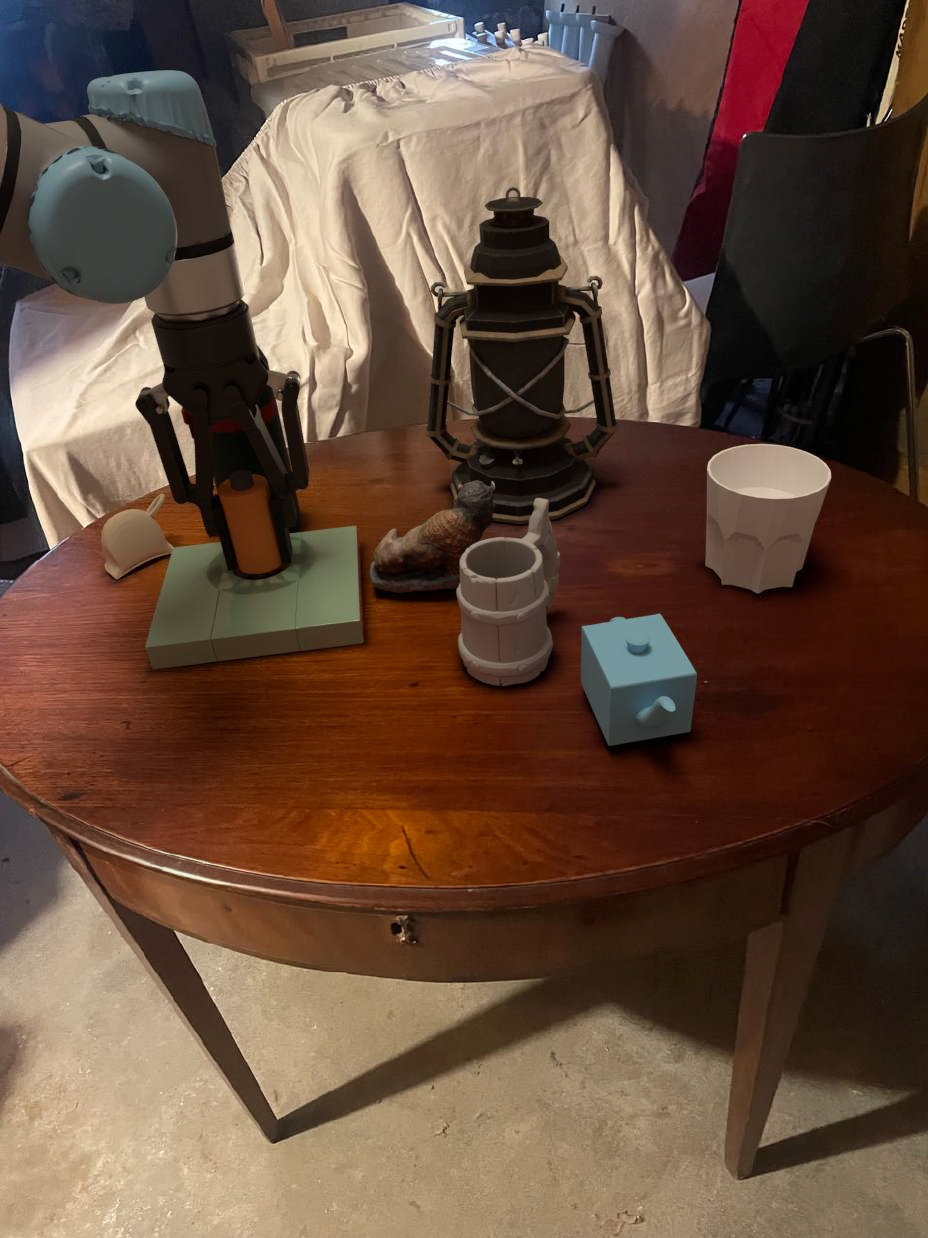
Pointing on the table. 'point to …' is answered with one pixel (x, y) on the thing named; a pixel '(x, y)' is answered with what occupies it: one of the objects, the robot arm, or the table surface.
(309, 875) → the table surface
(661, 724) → the teapot
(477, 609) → the mug
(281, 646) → the green peg socket base
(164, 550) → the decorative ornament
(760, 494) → the cup
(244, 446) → the wine bottle
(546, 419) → the lantern
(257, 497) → the orange cylinder
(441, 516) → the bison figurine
